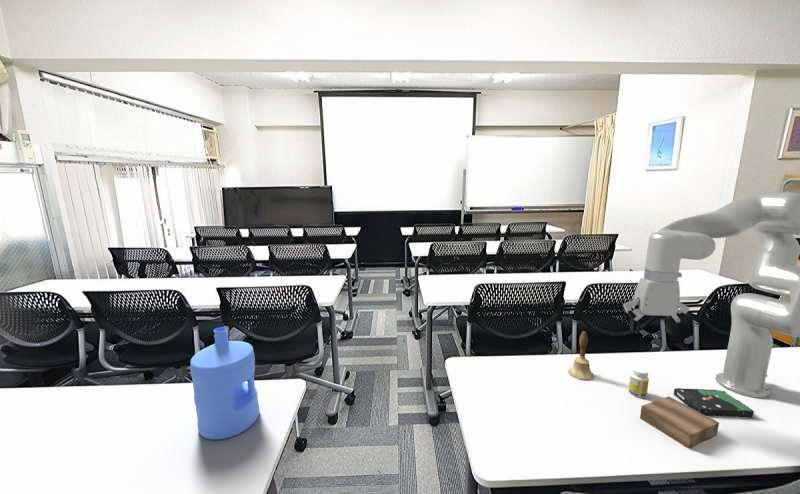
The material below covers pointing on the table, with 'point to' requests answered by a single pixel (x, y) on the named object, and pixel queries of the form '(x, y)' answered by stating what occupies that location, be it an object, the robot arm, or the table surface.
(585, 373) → the hand bell
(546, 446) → the table surface
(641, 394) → the supplement bottle
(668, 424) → the walnut base block
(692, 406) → the disk drive
